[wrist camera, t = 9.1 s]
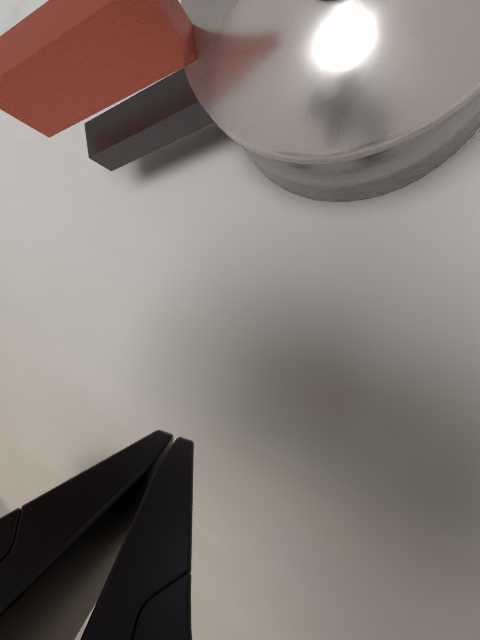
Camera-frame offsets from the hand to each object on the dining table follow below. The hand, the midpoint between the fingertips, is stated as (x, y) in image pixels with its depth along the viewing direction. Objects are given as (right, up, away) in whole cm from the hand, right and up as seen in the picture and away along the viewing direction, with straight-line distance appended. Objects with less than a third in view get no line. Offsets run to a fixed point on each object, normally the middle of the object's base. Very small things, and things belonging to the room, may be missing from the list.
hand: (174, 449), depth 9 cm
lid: (+2, +16, +7) cm, 18 cm away
